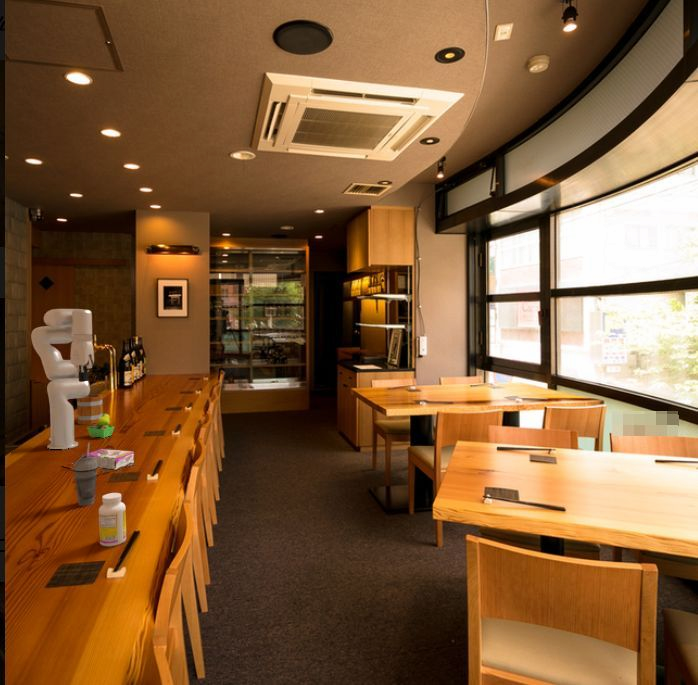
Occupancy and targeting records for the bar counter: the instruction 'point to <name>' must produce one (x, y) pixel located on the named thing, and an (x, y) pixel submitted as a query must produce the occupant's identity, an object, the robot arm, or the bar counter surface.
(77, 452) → the bar counter surface
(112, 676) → the bar counter surface
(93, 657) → the bar counter surface
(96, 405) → the mug
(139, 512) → the bar counter surface
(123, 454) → the candy bar box
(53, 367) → the robot arm
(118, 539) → the supplement bottle
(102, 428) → the fruit basket
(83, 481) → the beverage cup
